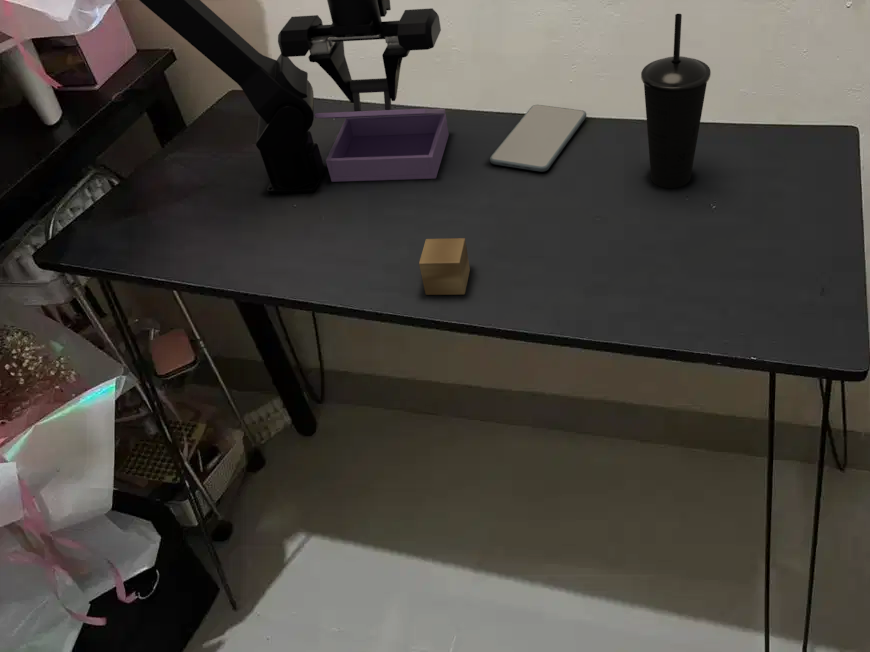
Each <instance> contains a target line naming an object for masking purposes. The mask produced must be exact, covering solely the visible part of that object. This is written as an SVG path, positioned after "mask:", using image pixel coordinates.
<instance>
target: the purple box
mask: <svg viewBox="0 0 870 652" xmlns="http://www.w3.org/2000/svg"><path fill="white" fill-rule="evenodd" d="M449 136H450V133H449V127H448V119H447V115H446V113H445V114H426V115H402V116H379V117H355V118H344V121H343V123H342V125H341V127H340V130H339V132H338V133H337V136H336V138H335V140H334V143H333V144H332V147H331V149H330V150H329V153H328V155H327V157H326V160H325V163H326V164H325V165H326V167H327V170H328V175H329V177H330V181H331V183H334V182H335V183H337V182H339V183H340V182H367V181H370V182H371V181H399V180H402V181H403V180H430V179H431V180H433V179H434V180H435V179H437V176H438V174H439V173H438V172H439V169H440V167H441V163H442V159H443V157H444V154H445V149H446V146H447V143H448V139H449Z"/></svg>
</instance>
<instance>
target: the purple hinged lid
mask: <svg viewBox="0 0 870 652" xmlns="http://www.w3.org/2000/svg"><path fill="white" fill-rule="evenodd" d="M350 90H351V92H352V93H353V101H354V103H353V111H338V112H336V111H334V112H333V111H332V112H314V119H346V118H362V117H386V116H410V115H433V114H446V109H445V108H406V109H405V108H404V109H403V108H402V109H393V108H392V100H391V97H390V94H389V91H388V85H387V79H386V77H384V78H383V77H382V78H362V79H352V80H351V81H350ZM369 93H383V100H384V109H383V110H382V109H381V110H380V109H379V110H362V106H361V95H360V94H369Z"/></svg>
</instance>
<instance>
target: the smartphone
mask: <svg viewBox="0 0 870 652" xmlns="http://www.w3.org/2000/svg"><path fill="white" fill-rule="evenodd" d="M586 118H587V112H586V111H585V110H581V109H574V108H567V107H561V106H560V107H559V106H553V105H552V106H551V105H543V104H533V105H532V106H530V108H529V109H528V110H527V111H526V112H525V114H524V115H523V116H522V117H521V119H520V120H519V121H518V122H517V123H516V125H515V126H514V127H513V129H512V130H511V131H510V132H509V133H508V135H507V136H506V137H505V138H504V139H503V141H502V142H501V143H500V144H499V145H498V147H497V148H496V149H495V150H494V151H493V153H492V154H491V155H490V157H489V161H490V163H491V164H492V165H496V166H503V167H508V168H509V167H510V168H513V169H514V168H515V169H521V170H527V171H534V172H539V173H540V172H541V173H543V172H546V171H549V169H550V168H551V167H552V165H553V163H555V161H556V160H557V158H558V157H559V156H560V154H561V152H562V151H563V150H564V148H565V147H566V145H568V143H569V142H570V140H571V139H572V137H573V136H574V135H575V133H576V132H577V131H578V129H579V128H580V127H581V125H582V124H583V122H584V121H585V119H586Z"/></svg>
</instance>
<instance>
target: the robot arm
mask: <svg viewBox="0 0 870 652" xmlns="http://www.w3.org/2000/svg"><path fill="white" fill-rule="evenodd" d="M138 1H139V2H140V3H141V4H143V5H144V6H145V7H146V8H148V9H149V10H150V11H151V12H152V13H153V14H154V15H156V17H158V18H159V19H160V20H162V21H163V22H164V23H165V24H166V25H168V26H169V27H170V28H171V29H172V30H174V31H175V33H177V34H178V35H179V36H180V37H182V38H183V39H184V40H185V41H187V42H188V43H189V44H190V45H191V46H193V47H194V48H195V49H196V50H197V51H198V52H200V53H201V54H202V55H203V56H204V57H205V58H207V59H208V60H209V61H210V62H211V63H212V64H214V66H216V67H217V68H218V69H219V70H221V71H222V72H223V73H224V74H225V75H226V76H228V77H229V78H230V79H231V80H232V81H233V82H235V83H236V84H237V85H238V86H239V87H240V89H241V90H242V92H243V93H244V94H245V96H246V98H247V99H248V101H249V102H250V104H251V106H252V107H253V109H254V111H255V112H256V113H257V115H258V119H257V120H258V121H257V129H256V140H255V141H256V142H255V146H256V148H257V149H258V150H259V153H260V157H261V159H262V162H263V165H264V168H265V170H266V174H267V176H268V179H269V182H270V183H269V184H268V186H267V188H266V191H267V193H268V194H296V193H297V194H299V193H300V194H301V193H314V192H315V191H316V189H317V186H318V185H319V183H320V181H321V179H322V178H323V174H324V172H325V171H326V167H327V165H326V164H325V163H324V161H323V157H322V154H321V151H320V147H319V144H318V143H317V142H314V139H313V136H312V132H311V130H310V129H311V127H312V126H313V123H314V119H315V109H314V107H315V105H314V103H315V98H314V97H315V96H314V87H313V85H312V84H311V82H310V81H309V80H308V76H309V75H308V71H306V70H303V69H301V68H299V67H298V66H297V65H296V64H295V63H294V62H293V61H292V60H291V57H306V55H307V54H308V53H309V56H308V60H309V62H310V63H316V64H317V65H318V66H319V67H320V68H321V69H322V70H323V71H324V72H325V73H326V74H327V75H328V76H329V77H330V78H331V79H332V80H333V81H334V83H335V84H336V85H337V87H338V88H339V89H340V91H341V92H342V93H343V94H344V95H345V96H346V98H347V100H348V102H350V103H351V104H354V101H353V93H352V92H351V90H350V81H351V80H353V79H352V76H351V72H350V69H349V65H348V63H347V59H346V55H345V43H344V42H357V41H374V40H375V41H377V40H385V44H386V47H385V49H384V51H383V53H382V61H383V67H384V74H385V78H386V79H387V85H388V91H389V94H390V97H391V102H395V101H396V99H397V97H398V96H397V95H398V88H399V81H400V74H401V73H400V72H401V66H402V61H403V58H407V57H408V56H409V54H410V52H411V51H425V50H431V49H434V47H435V46H436V43H437V41H438V38H439V36H440V34H441V31H442V28H441V22H440V21H441V20H440V16H439V14H438V13H437V11H436V10H435V9H434V8H416V9H405V10H404V11H403V13H402V15H401V16H400V19H399V20H387V21H385V20H384V21H383V20H382V18H384V17H386V15H387V14H388V11H391V9H392V7H391V0H326V1H327V5H328V9H329V14H330V19H331V22H332V23H331V24H323V20H322V18H321V17H320V16H319V15H318V14H316V15H313V14H312V15H299V16H291V17H290V18H289V19H288V21H287V22H286V23H285V25H284V26H283V27H282V28H281V30H280V31H279V33H278V35H277V44H278V47H279V51H280V55H279V56H278V57H277V59H274V58H271V57H268V56H267V55H264V54H262V53H260V52H259V51H258V50H257V49H255V47H254V46H252V45H251V44H250V43H249V42H248V41H247V40H245V39H244V38H243V37H242V36H241V35H240V34H239V33H237V31H235V30H234V29H233V28H232V27H231V26H230V25H229V24H228V23H226V21H224V20H223V19H222V18H221V17H220V16H219V15H217V13H215V12H214V11H213V10H212V9H211V8H210V7H209V6H207V5H206V4H205V3H204V2H203V1H202V0H138Z"/></svg>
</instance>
